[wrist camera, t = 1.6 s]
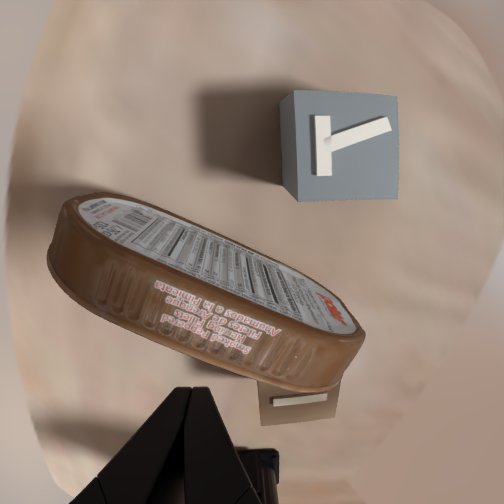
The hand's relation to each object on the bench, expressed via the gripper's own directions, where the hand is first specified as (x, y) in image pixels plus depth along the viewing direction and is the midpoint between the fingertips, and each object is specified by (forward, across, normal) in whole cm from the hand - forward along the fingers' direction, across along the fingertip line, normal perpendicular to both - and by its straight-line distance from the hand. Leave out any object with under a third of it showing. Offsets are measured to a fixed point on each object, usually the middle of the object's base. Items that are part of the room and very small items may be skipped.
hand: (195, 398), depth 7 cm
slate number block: (+11, -6, -6) cm, 14 cm away
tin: (+11, 0, 0) cm, 11 cm away
